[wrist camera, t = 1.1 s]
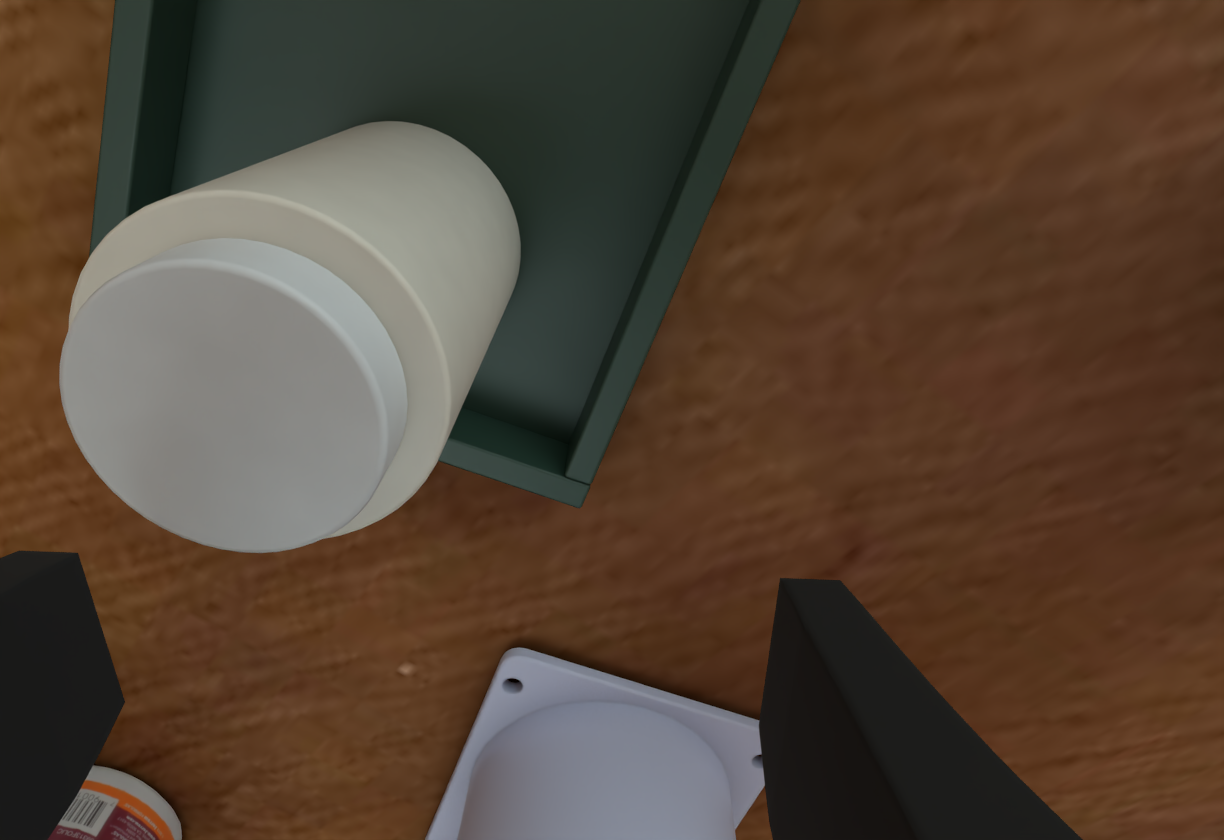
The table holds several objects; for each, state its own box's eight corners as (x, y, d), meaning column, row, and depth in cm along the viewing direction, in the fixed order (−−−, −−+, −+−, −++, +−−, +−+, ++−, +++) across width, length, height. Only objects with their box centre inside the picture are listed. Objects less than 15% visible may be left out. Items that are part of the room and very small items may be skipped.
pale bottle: (482, 382, 17) (377, 635, 10) (268, 307, 17) (-4, 519, 10) (553, 175, 16) (484, 306, 8) (315, 81, 15) (19, 136, 8)
